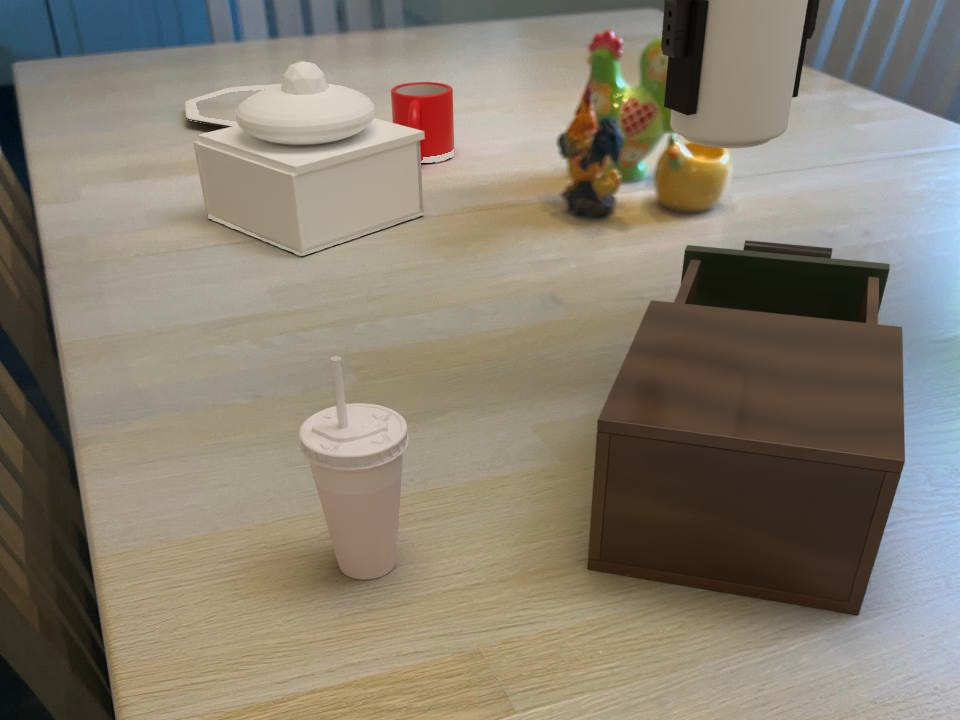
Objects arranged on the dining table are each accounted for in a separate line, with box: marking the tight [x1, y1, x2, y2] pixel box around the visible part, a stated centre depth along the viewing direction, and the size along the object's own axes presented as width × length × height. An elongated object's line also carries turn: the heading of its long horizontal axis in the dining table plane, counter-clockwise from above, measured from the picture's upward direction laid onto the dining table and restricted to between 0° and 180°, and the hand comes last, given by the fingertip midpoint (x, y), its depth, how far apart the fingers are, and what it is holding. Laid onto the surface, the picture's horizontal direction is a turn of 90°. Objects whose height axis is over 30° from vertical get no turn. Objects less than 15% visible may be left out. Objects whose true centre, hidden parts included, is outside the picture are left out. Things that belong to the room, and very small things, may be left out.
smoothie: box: [298, 355, 410, 581], centre depth 61 cm, size 6×6×14 cm
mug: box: [390, 81, 455, 161], centre depth 129 cm, size 8×12×8 cm, turn 176°
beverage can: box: [669, 0, 808, 149], centre depth 68 cm, size 8×8×12 cm
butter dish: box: [192, 60, 425, 253], centre depth 110 cm, size 18×18×16 cm
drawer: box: [673, 239, 891, 324], centre depth 78 cm, size 22×15×9 cm
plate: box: [184, 83, 282, 128], centre depth 150 cm, size 24×24×2 cm
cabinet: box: [586, 300, 906, 616], centre depth 65 cm, size 18×17×11 cm
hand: (731, 101), depth 70 cm, fingers closed on beverage can, 8 cm apart
